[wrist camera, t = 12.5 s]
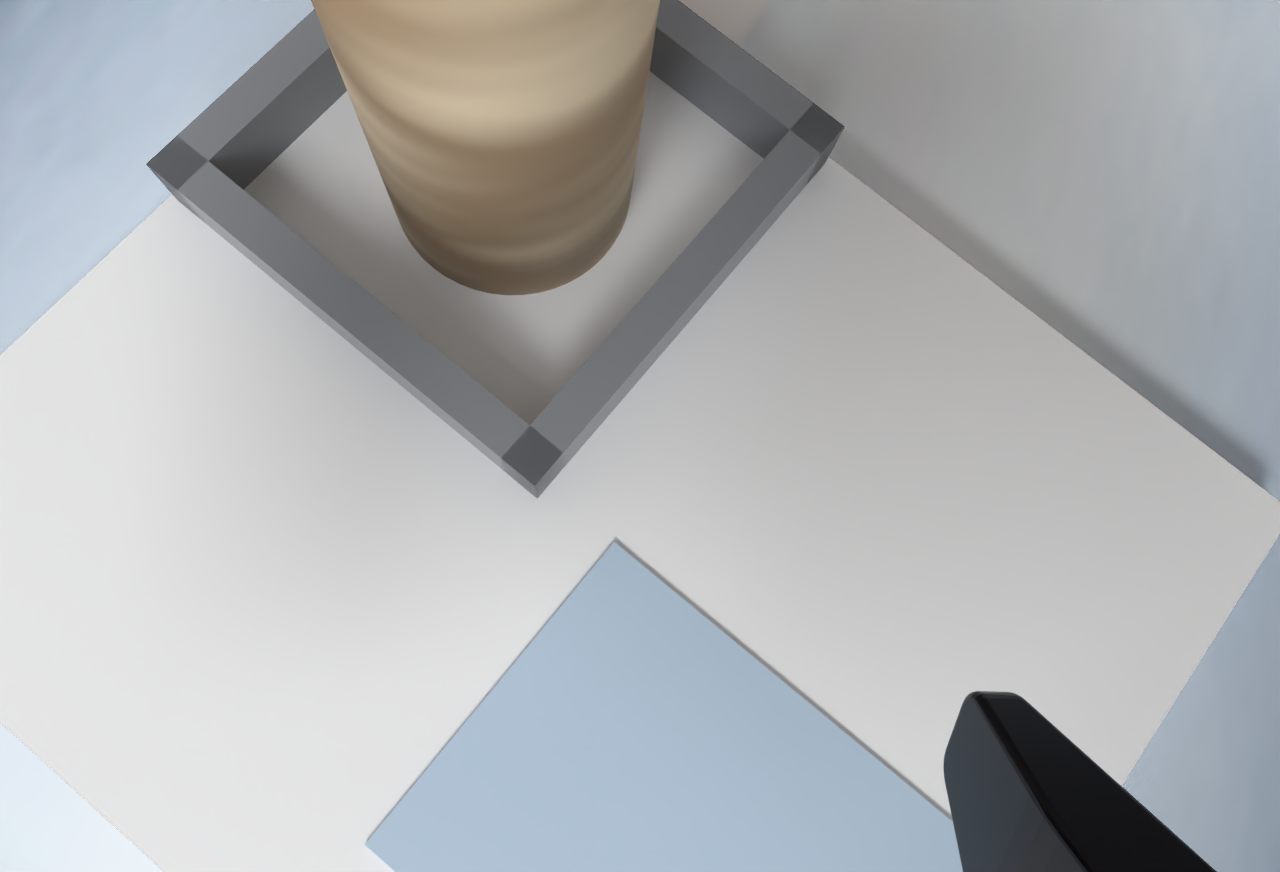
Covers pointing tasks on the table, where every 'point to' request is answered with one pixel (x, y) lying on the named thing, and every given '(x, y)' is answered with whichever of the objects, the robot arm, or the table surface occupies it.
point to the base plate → (574, 513)
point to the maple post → (500, 126)
